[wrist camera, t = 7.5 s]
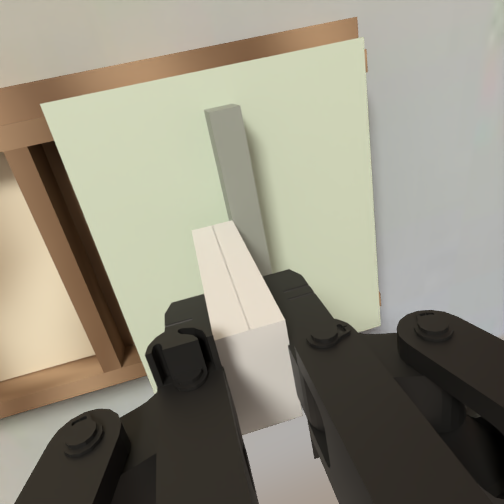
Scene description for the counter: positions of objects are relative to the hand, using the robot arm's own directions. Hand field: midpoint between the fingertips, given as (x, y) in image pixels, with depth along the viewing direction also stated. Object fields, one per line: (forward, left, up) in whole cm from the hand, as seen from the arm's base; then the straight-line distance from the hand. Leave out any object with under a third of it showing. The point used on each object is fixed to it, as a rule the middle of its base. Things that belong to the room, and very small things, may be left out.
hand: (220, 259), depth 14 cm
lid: (+1, 0, -2) cm, 2 cm away
